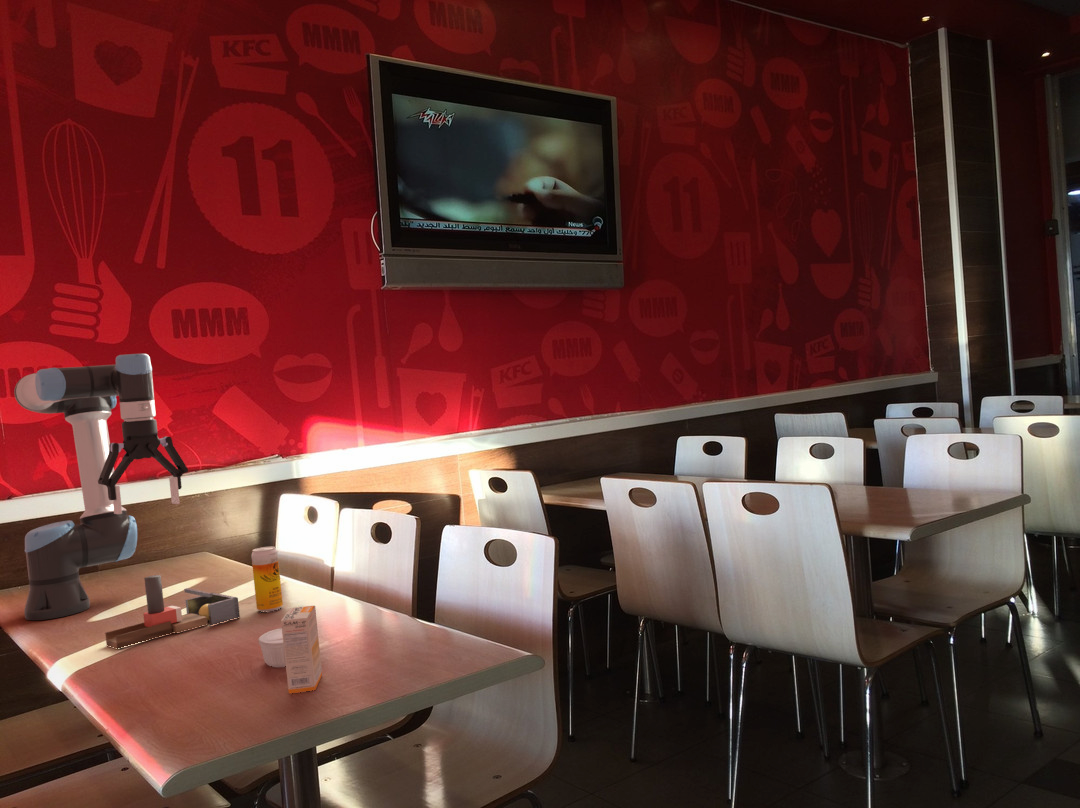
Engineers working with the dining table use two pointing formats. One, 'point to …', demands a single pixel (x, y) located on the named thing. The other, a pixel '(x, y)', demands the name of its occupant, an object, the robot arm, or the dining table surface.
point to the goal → (213, 605)
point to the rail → (136, 634)
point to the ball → (204, 611)
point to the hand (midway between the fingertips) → (147, 508)
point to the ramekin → (273, 648)
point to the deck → (189, 622)
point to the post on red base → (158, 604)
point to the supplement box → (301, 649)
